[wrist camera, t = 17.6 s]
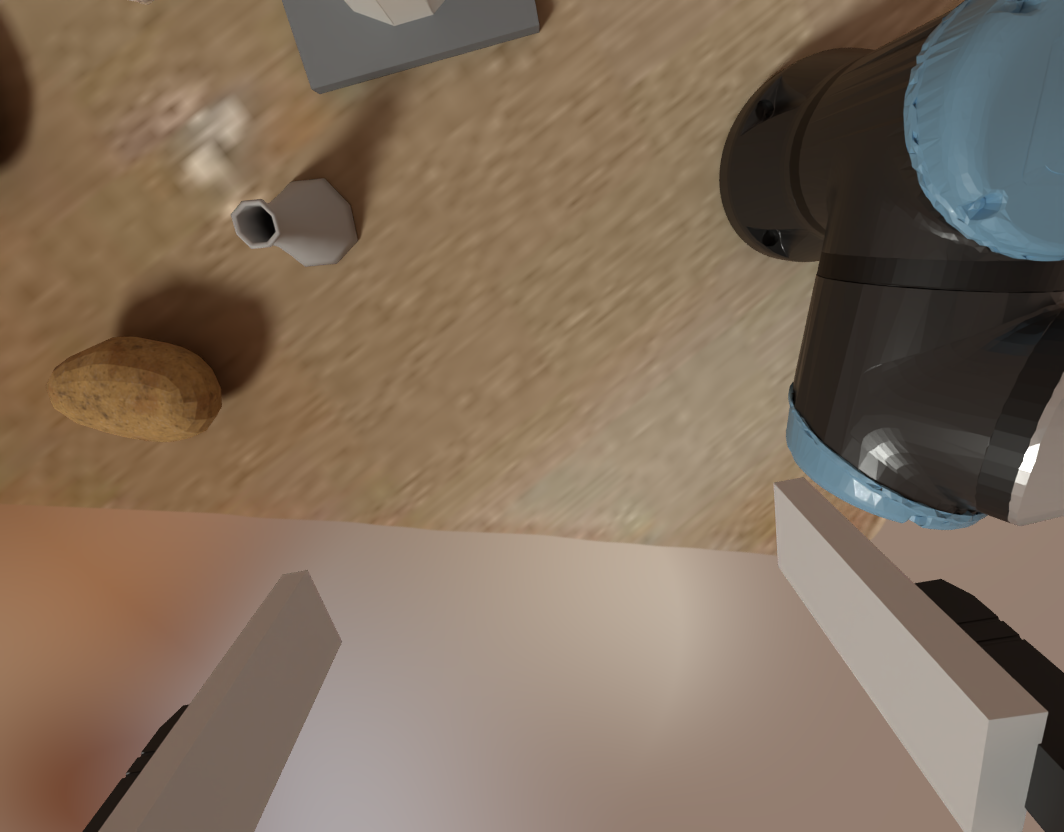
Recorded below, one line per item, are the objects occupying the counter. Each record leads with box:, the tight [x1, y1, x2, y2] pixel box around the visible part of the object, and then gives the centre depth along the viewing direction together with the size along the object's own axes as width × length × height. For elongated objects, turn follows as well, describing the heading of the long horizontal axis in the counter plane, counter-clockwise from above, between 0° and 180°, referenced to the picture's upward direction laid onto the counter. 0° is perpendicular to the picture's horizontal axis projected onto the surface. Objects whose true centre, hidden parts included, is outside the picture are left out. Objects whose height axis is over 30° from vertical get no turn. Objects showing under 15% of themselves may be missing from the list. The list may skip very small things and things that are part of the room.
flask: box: [231, 178, 358, 267], centre depth 38 cm, size 7×7×10 cm
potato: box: [46, 336, 222, 442], centre depth 45 cm, size 10×14×8 cm
